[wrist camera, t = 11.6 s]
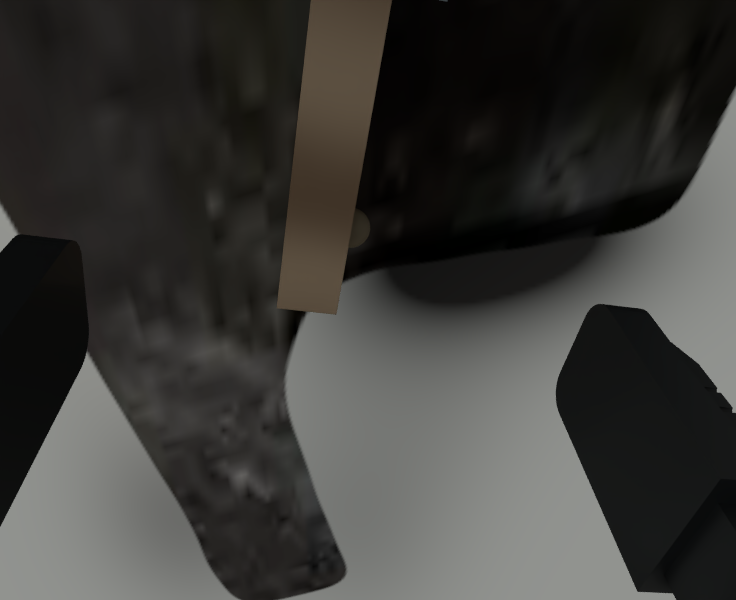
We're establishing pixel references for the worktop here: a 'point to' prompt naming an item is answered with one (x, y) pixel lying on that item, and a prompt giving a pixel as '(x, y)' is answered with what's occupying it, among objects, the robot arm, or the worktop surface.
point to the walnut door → (331, 150)
